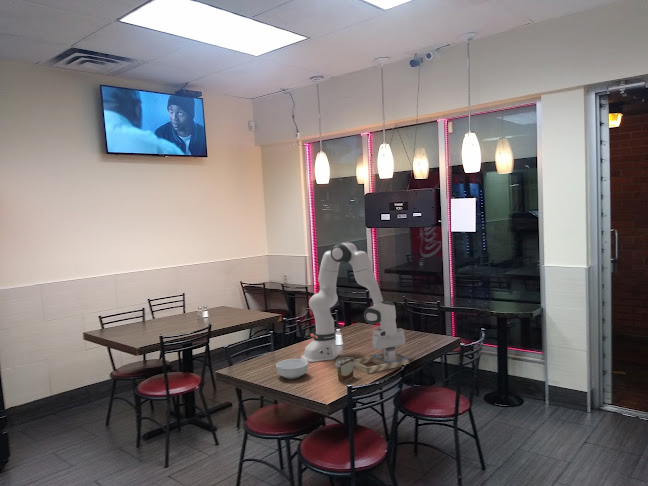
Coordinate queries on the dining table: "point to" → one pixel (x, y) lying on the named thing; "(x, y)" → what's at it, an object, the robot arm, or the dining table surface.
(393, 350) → the plug block
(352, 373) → the food container
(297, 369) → the cereal bowl
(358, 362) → the divider frame
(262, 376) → the dining table surface
